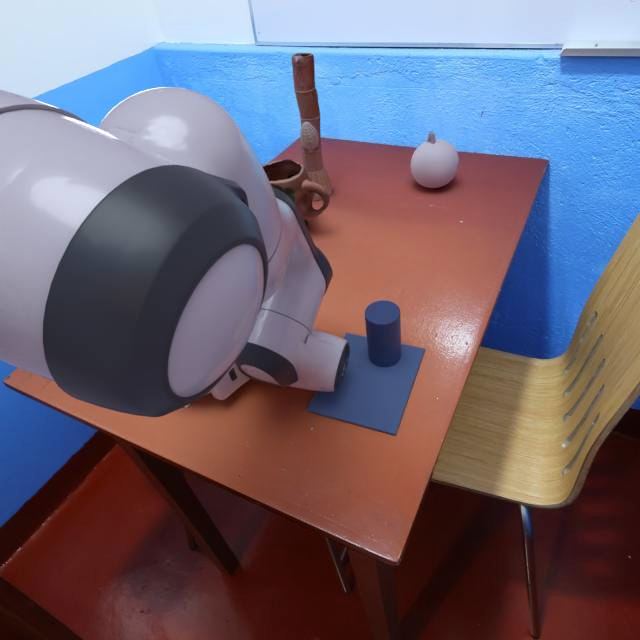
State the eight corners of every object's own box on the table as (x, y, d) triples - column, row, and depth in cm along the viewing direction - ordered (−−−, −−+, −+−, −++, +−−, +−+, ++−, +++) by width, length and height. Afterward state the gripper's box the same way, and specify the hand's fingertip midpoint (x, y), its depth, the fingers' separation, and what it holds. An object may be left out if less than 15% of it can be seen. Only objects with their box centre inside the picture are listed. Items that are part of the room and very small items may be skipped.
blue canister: (395, 370, 70) (394, 327, 63) (364, 363, 71) (359, 320, 65) (405, 346, 73) (404, 303, 67) (374, 340, 75) (371, 297, 68)
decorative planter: (345, 219, 103) (339, 158, 93) (325, 251, 95) (315, 188, 86) (266, 211, 110) (252, 154, 101) (240, 240, 102) (223, 181, 93)
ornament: (402, 189, 109) (401, 138, 101) (427, 170, 114) (428, 120, 106) (441, 200, 103) (443, 147, 95) (465, 180, 108) (469, 128, 100)
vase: (323, 204, 109) (302, 62, 89) (295, 200, 112) (270, 62, 92) (342, 182, 115) (327, 45, 95) (316, 179, 118) (296, 46, 98)
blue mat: (395, 435, 62) (395, 434, 62) (306, 411, 67) (306, 409, 67) (425, 350, 72) (425, 348, 72) (346, 334, 77) (346, 332, 77)
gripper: (273, 285, 75) (202, 273, 80) (203, 381, 62) (124, 359, 67) (280, 314, 79) (212, 300, 84) (216, 409, 66) (141, 387, 71)
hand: (172, 327), depth 76 cm, fingers closed on pill bottle, 5 cm apart
